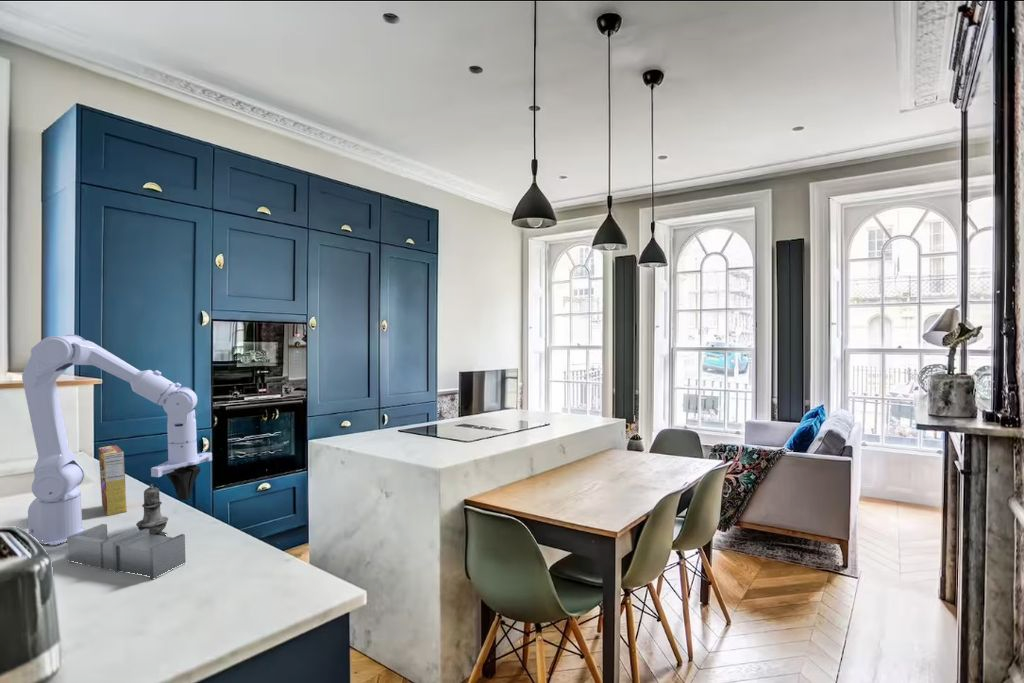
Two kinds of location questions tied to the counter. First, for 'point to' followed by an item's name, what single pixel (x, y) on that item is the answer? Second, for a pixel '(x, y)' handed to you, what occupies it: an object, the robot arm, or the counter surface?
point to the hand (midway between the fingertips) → (184, 499)
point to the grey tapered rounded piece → (152, 513)
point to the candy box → (112, 479)
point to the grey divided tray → (127, 551)
